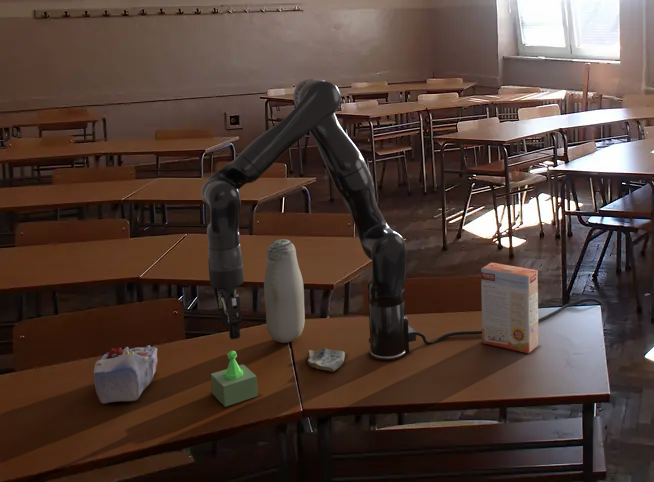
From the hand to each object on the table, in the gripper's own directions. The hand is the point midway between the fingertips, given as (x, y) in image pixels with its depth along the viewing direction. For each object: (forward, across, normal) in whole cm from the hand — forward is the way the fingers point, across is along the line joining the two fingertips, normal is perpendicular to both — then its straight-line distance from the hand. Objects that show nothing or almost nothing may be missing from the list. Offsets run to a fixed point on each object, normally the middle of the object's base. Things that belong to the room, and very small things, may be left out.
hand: (230, 331), depth 192 cm
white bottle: (+16, +24, -19) cm, 34 cm away
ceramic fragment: (+16, +6, -23) cm, 29 cm away
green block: (+16, 0, 0) cm, 16 cm away
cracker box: (+16, -8, -70) cm, 72 cm away
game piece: (+11, 0, 0) cm, 11 cm away
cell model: (+16, +16, +22) cm, 32 cm away
